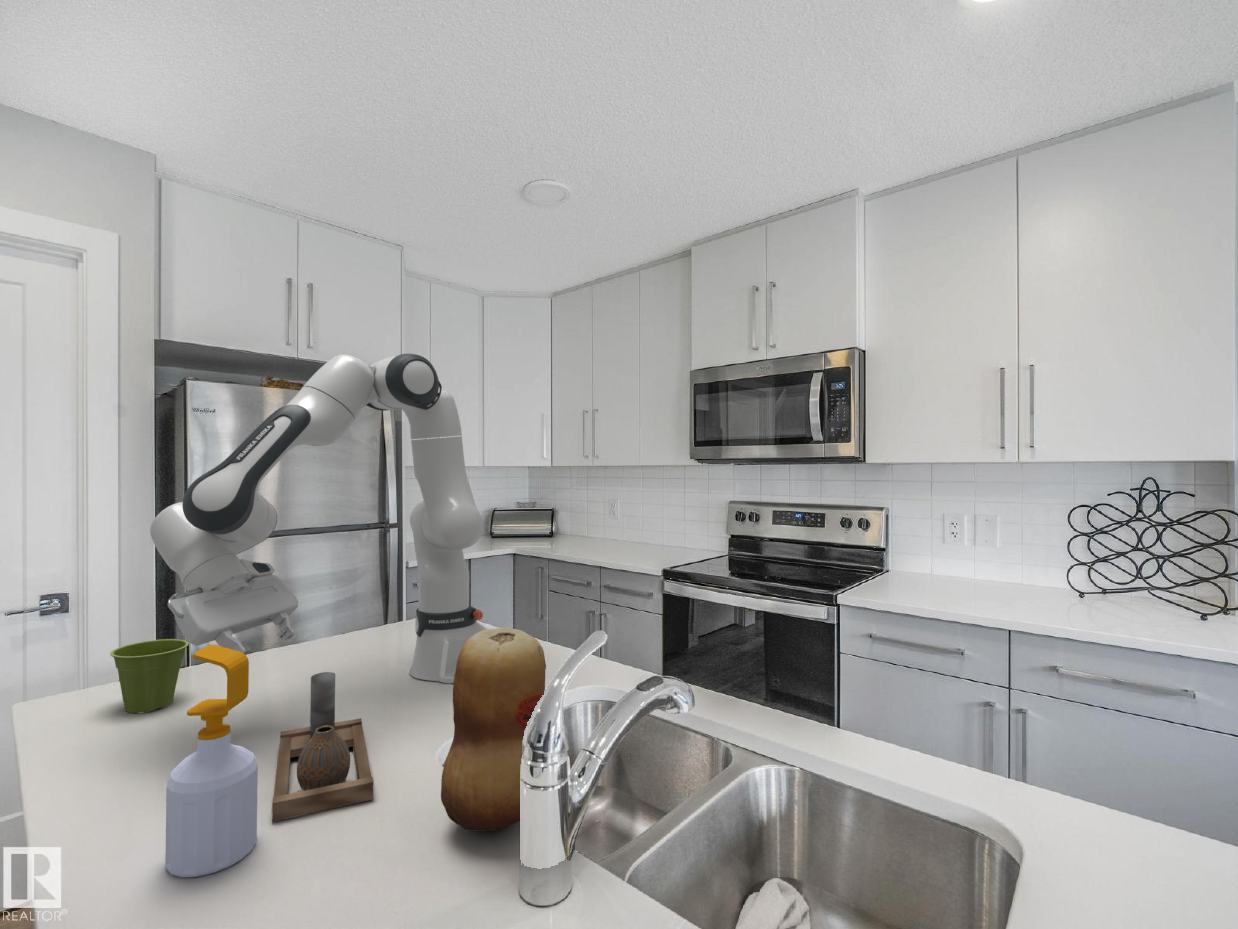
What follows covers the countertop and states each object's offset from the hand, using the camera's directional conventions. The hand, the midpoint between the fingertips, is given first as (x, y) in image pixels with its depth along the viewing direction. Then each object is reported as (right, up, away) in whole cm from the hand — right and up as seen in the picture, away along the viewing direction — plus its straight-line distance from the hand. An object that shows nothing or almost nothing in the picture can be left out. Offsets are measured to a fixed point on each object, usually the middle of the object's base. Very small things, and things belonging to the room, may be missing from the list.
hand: (268, 645), depth 101 cm
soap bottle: (+10, -16, -29) cm, 35 cm away
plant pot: (-31, -16, +14) cm, 37 cm away
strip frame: (+14, -16, -10) cm, 24 cm away
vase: (+16, -17, -14) cm, 27 cm away
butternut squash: (+43, -17, -22) cm, 51 cm away
